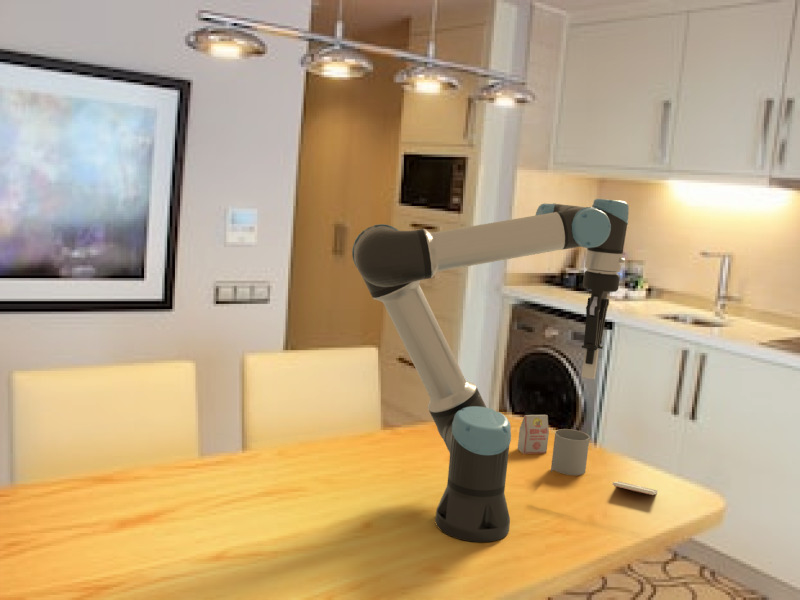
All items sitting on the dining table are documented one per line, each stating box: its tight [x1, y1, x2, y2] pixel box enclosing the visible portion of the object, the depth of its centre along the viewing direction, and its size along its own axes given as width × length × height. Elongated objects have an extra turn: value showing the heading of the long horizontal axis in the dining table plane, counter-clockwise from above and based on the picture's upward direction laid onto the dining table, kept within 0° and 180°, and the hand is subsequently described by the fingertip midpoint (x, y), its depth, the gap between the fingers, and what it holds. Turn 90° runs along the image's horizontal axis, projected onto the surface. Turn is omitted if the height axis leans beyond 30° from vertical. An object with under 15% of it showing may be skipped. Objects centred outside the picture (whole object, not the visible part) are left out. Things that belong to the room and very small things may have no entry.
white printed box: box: [517, 414, 550, 455], centre depth 200 cm, size 4×7×10 cm, turn 107°
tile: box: [612, 481, 658, 496], centre depth 174 cm, size 10×9×1 cm
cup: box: [550, 428, 590, 476], centre depth 187 cm, size 8×8×10 cm
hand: (588, 377), depth 166 cm, fingers closed
